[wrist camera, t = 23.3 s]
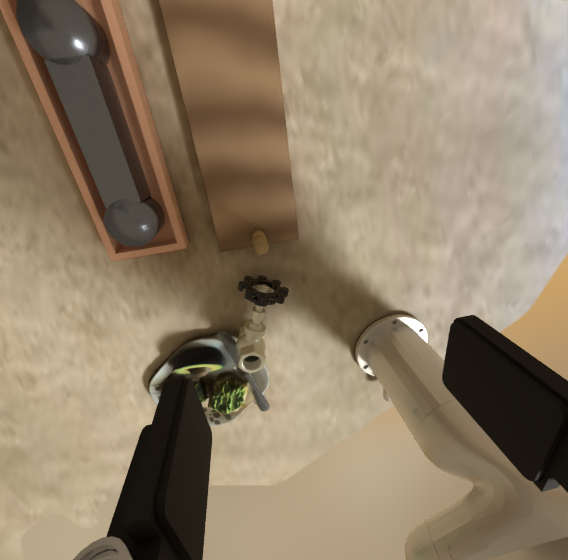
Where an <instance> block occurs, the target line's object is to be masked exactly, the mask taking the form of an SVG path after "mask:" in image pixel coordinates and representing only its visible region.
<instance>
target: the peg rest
mask: <svg viewBox="0 0 568 560" xmlns="http://www.w3.org/2000/svg"><path fill="white" fill-rule="evenodd" d="M159 3H160V7H161V11H162V15H163V19H164V23H165V27H166V31H167V35H168V39H169V44H170V48H171V52H172V56H173V60H174V64H175V68H176V72H177V76H178V80H179V84H180V88H181V92H182V96H183V101H184V105H185V109H186V113H187V117H188V121H189V125H190V129H191V133H192V137H193V141H194V145H195V149H196V153H197V158H198V162H199V166H200V170H201V174H202V178H203V182H204V186H205V190H206V194H207V198H208V202H209V206H210V210H211V215H212V219H213V223H214V227H215V231H216V235H217V239H218V243H219V247H220V251H221V252H222V251H228V250H234V249H240V248H245V247H251V246H254V250H255V252H256V253H257V254H259V255H264V254H266V253H267V252H268V250H269V246H268V243H274V242H280V241H286V240H291V239H297V238H298V229H297V220H296V211H295V202H294V193H293V184H292V175H291V166H290V157H289V148H288V138H287V129H286V120H285V111H284V102H283V93H282V84H281V75H280V66H279V57H278V48H277V39H276V29H275V20H274V11H273V2H272V0H159Z"/></svg>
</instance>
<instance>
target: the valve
mask: <svg viewBox="0 0 568 560" xmlns="http://www.w3.org/2000/svg"><path fill="white" fill-rule="evenodd" d="M280 284H281V282H280V281H278V280H273V281H272V282H271V281H268V280H266V277H265V276H259V277H258V279H253V278H252V277H251V276H245V278H244V281H240V282H239V284H238V290H239V291H243V289H246V291H245V296H244V297H245V299H247V300H250V301H251V302H254V304H255V305H256V307H253V309H252V313H251V320H250V321H247V322H246V323H245V326H243V327H240V330H239V335H238V341H237V343H236V352H237V355H238V356H239V358H238V367H239V368H240V369H242V370H243V371H245V372H247V373H253V372H256V371H259V370H261V369H263V366H264V362H265V342H264V339H263V338H262V337H263V336H264V334H265V330H266V326H265V325H264V324H263V323H262V321H263V320H264V316H265V309H264V308H263V307H265V306H267V305H269V304H270V305H273V304H275V303H276V302H277V303H279V304H283V303H284V299H285V297H287V295H288V291H289V289H288V288H286V287H280ZM254 285H258V287H257V290H255V289H254V288H253V287H252V286H254ZM270 288H272V289H274V290H275V292H274V293H270ZM253 296H254V297H253ZM271 299H273V300H271Z"/></svg>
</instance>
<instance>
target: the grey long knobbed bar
mask: <svg viewBox="0 0 568 560" xmlns="http://www.w3.org/2000/svg"><path fill="white" fill-rule="evenodd" d="M16 13H17V19H18V23H19V26H20V29H21V31H22V33H23V35H24V37H25V38H26V40H27V41H28V43H29V44H30V45H31V46H32V48H33V49H34V50H35V51H36V52H37V53H39V54H40V55H41V56H42V57H44V58H46V59H47V60H44V61H45V64H46V66H47V68H48V71H49V73H50V76H51V78H52V80H53V83H54V85H55V88H56V90H57V92H58V95H59V97H60V100H61V102H62V104H63V107H64V109H65V112H66V114H67V116H68V119H69V121H70V124H71V126H72V128H73V131H74V133H75V136H76V138H77V141H78V143H79V145H80V148H81V150H82V153H83V155H84V157H85V160H86V162H87V165H88V167H89V169H90V172H91V174H92V177H93V179H94V181H95V184H96V186H97V189H98V191H99V193H100V196H101V198H102V201H103V203H104V205H105V208H106V207H108V208H107V209H106V211H105V215H104V223H105V227H106V229H107V231H108V233H109V234H110V235H111V237H113V238H114V239H115V240H116V241H117V242H119V243H121V244H123V245H126V246H130V247H140V246H143V245H146V244H148V243H149V242H150V241H151V240H152V239H153V238H154V237H155V236H156V235H157V234H158V232H159V231H160V230H161V229H162V228H163V226H164V222H165V215H164V211H163V209H162V207H161V205H160V204H159V203H158V202H157V201H156V200H155V199H153V198H152V197H150V196H151V193H150V190H149V187H148V184H147V181H146V178H145V175H144V172H143V169H142V166H141V163H140V160H139V157H138V154H137V151H136V148H135V145H134V142H133V139H132V136H131V133H130V130H129V127H128V124H127V121H126V118H125V115H124V112H123V109H122V106H121V103H120V100H119V97H118V94H117V91H116V88H115V85H114V82H113V79H112V76H111V74H110V71H109V68H108V66H107V64H108V61H109V57H110V47H109V42H108V39H107V36H106V34H105V32H104V30H103V28H102V27H101V25H100V24H99V23H98V21H97V20H96V19H95V18H94V17H93V16H92V15H90V14H89V13H88V12H87V11H86V10H85V9H84V8H83V7H82V6H81V5H79V4H78V3H77V2H76V1H75V0H17V6H16Z"/></svg>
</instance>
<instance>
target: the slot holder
mask: <svg viewBox="0 0 568 560" xmlns="http://www.w3.org/2000/svg"><path fill="white" fill-rule="evenodd" d="M75 1H76V2H77V3H78V4H79V5H81V6H82V7H83V8H84V9H85V10H86V11H87V12H88V13H89V14H90V15H92V16H93V17H94V18H95V19H96V20H97V21H98V23H99V24H100V25H101V27H102V28H103V30H104V32H105V34H106V36H107V39H108V42H109V47H110V57H109V61H108V64H107V66H108V68H109V71H110V74H111V76H112V79H113V82H114V85H115V88H116V91H117V94H118V97H119V100H120V103H121V106H122V109H123V112H124V115H125V118H126V121H127V124H128V127H129V130H130V133H131V136H132V139H133V142H134V145H135V148H136V151H137V154H138V157H139V160H140V163H141V166H142V169H143V172H144V175H145V178H146V181H147V184H148V187H149V190H150V193H151V196H150V197H152V198H153V199H155V200H156V201H157V202H158V203H159V204H160V205H161V207H162V209H163V211H164V215H165V222H164V226H163V228H162V229H161V230H160V231H159V232H158V234H157V235H156V236H155V237H154V238H153V239H152V240H151V241H150V242H149V243H148V244H146V245H143V246H140V247H130V246H126V245H123V244H121V243H119V242H117V241H116V240H115V239H114V238H113V237H111V235H110V234H109V233H108V231H107V229H106V227H105V223H104V215H105V211H106V209H107V208H108V207H106V208H105V205H104V203H103V201H102V198H101V196H100V193H99V191H98V189H97V186H96V184H95V181H94V179H93V177H92V174H91V172H90V169H89V167H88V165H87V162H86V160H85V157H84V155H83V153H82V150H81V148H80V145H79V143H78V141H77V138H76V136H75V133H74V131H73V128H72V126H71V124H70V121H69V119H68V116H67V114H66V112H65V109H64V107H63V104H62V102H61V100H60V97H59V95H58V92H57V90H56V88H55V85H54V83H53V80H52V78H51V76H50V73H49V71H48V68H47V66H46V64H45V61H44V60H47V59H46V58H44V57H42V56H41V55H40V54H39V53H37V52H36V51H35V50H34V49H33V48H32V46H31V45H30V44H29V43H28V41H27V40H26V38H25V37H24V35H23V33H22V31H21V29H20V26H19V23H18V19H17V13H16V6H17V0H0V10H1V12H2V14H3V16H4V19H5V21H6V23H7V25H8V28H9V30H10V32H11V35H12V37H13V39H14V41H15V44H16V46H17V48H18V50H19V53H20V55H21V57H22V60H23V62H24V64H25V66H26V69H27V71H28V73H29V75H30V78H31V80H32V82H33V85H34V87H35V89H36V91H37V94H38V96H39V98H40V100H41V103H42V105H43V107H44V110H45V112H46V114H47V116H48V119H49V121H50V123H51V125H52V128H53V130H54V132H55V135H56V137H57V139H58V141H59V144H60V146H61V148H62V150H63V153H64V155H65V157H66V160H67V162H68V164H69V166H70V169H71V171H72V173H73V175H74V178H75V180H76V182H77V185H78V187H79V189H80V191H81V194H82V196H83V198H84V200H85V203H86V205H87V207H88V210H89V212H90V214H91V216H92V219H93V221H94V223H95V225H96V228H97V230H98V232H99V235H100V237H101V239H102V241H103V244H104V246H105V248H106V250H107V253H108V255H109V257H110V260H111V261H117V260H122V259H128V258H134V257H140V256H146V255H152V254H157V253H163V252H169V251H175V250H181V249H186V248H187V246H188V244H189V239H188V236H187V232H186V229H185V225H184V222H183V219H182V215H181V212H180V208H179V205H178V202H177V198H176V195H175V191H174V188H173V185H172V181H171V178H170V174H169V171H168V168H167V164H166V161H165V157H164V154H163V151H162V147H161V144H160V140H159V137H158V134H157V130H156V127H155V123H154V120H153V117H152V113H151V110H150V106H149V103H148V100H147V96H146V93H145V89H144V86H143V83H142V79H141V76H140V72H139V69H138V66H137V62H136V59H135V55H134V52H133V49H132V45H131V42H130V38H129V35H128V32H127V28H126V25H125V21H124V18H123V15H122V11H121V8H120V4H119V1H118V0H75Z"/></svg>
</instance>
